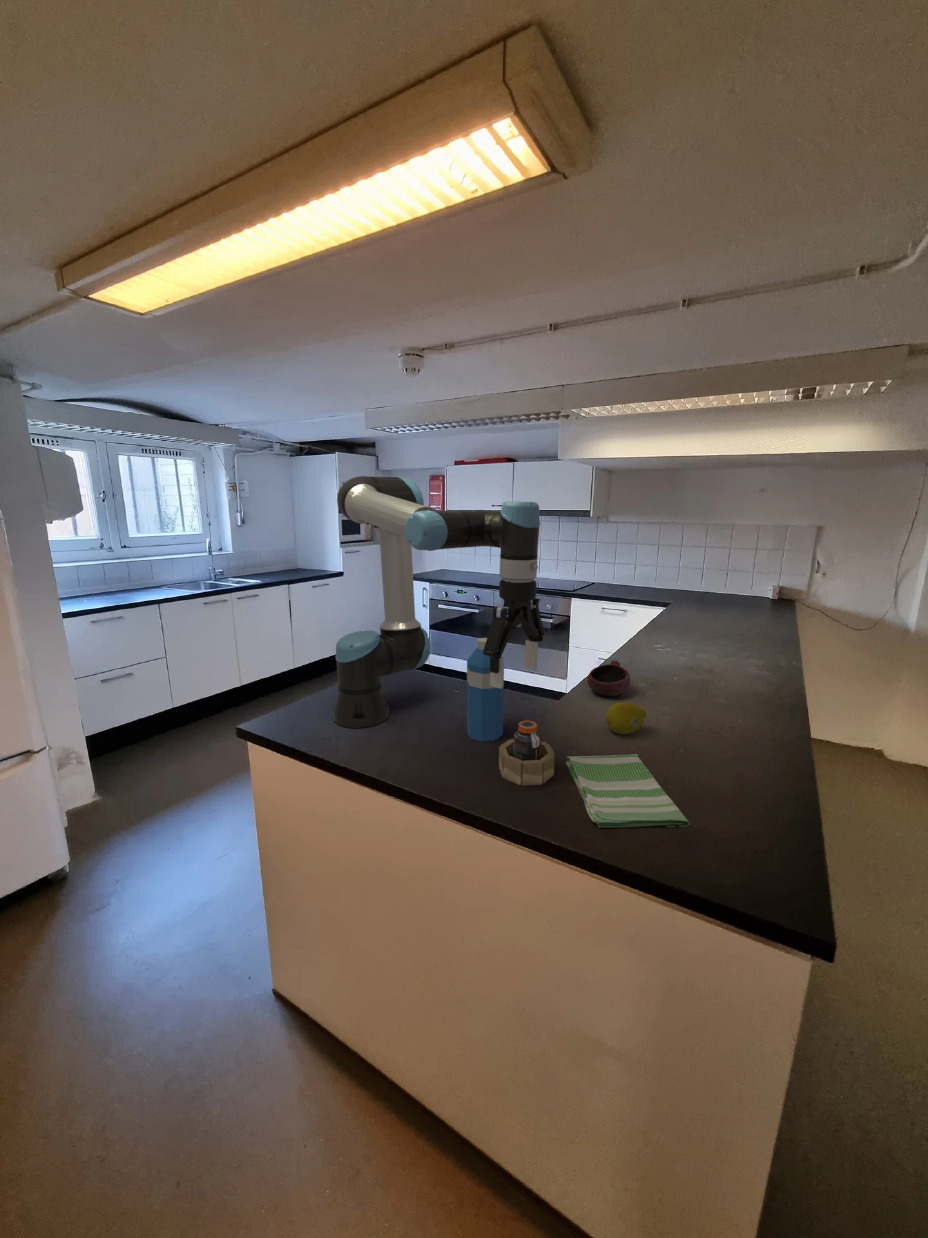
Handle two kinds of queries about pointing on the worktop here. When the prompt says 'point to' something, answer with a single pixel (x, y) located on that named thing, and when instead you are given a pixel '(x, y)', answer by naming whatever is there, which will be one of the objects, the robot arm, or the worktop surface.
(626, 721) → the lemon
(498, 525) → the robot arm
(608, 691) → the bowl
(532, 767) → the ring
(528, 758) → the pill bottle
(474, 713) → the water bottle
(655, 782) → the dish towel
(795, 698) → the worktop surface
